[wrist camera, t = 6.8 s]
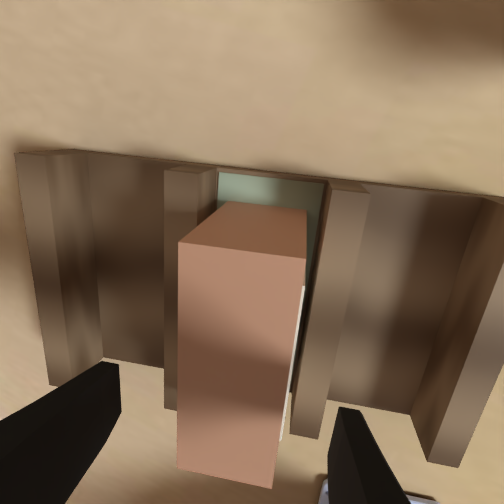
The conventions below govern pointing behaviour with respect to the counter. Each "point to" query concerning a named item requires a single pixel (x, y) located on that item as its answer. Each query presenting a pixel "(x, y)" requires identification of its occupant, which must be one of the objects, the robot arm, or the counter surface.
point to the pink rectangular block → (238, 338)
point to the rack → (316, 282)
